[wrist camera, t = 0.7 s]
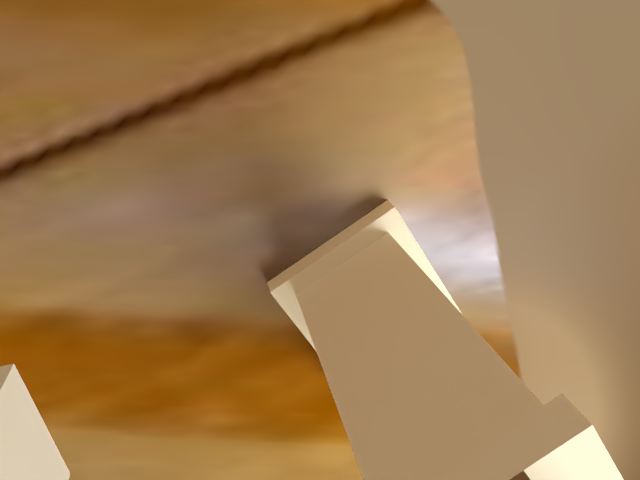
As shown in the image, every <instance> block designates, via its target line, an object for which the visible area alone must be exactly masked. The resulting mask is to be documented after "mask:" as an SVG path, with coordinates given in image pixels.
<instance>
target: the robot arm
mask: <svg viewBox="0 0 640 480" xmlns="http://www.w3.org/2000/svg"><path fill="white" fill-rule="evenodd" d="M69 477H70V472H69V470H68V468H67V466H66V464H65V462H64V460H63V458H62V457H61V455H60V453H59V451H58V449H57V447H56V445H55V443H54V441H53V439H52V437H51V435H50V433H49V431H48V429H47V427H46V425H45V423H44V421H43V419H42V417H41V416H40V414H39V412H38V410H37V408H36V406H35V404H34V402H33V400H32V398H31V396H30V394H29V392H28V390H27V388H26V386H25V384H24V382H23V380H22V378H21V376H20V375H19V373H18V371H17V369H16V367H15V365H14V364H10V365H6V366H1V367H0V480H69Z"/></svg>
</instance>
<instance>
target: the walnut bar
mask: <svg viewBox="0 0 640 480" xmlns="http://www.w3.org/2000/svg"><path fill="white" fill-rule="evenodd" d="M510 480H530V478H529V477H528V476H527V474H526V473H525V472H524V470H523V471H522V472H520V473H519V474H517V475H516V476H514V477H513V478H511V479H510Z"/></svg>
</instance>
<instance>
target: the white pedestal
mask: <svg viewBox="0 0 640 480" xmlns="http://www.w3.org/2000/svg"><path fill="white" fill-rule="evenodd" d="M267 283H268V287H269V291H270V293H271V294H272V296H273V297H274V298H275V299H276V301H277V302H278V303H279V304H280V306H281V307H282V308H283V310H284V311H285V312H286V313H287V315H288V316H289V317H290V318H291V320H292V321H293V322H294V324H295V325H296V326H297V327H298V329H299V330H300V331H301V333H302V334H303V335H304V336H305V338H306V339H307V340H308V341H309V343H310V344H311V345H312V347H313V348H314V349H315V350H316V352H317V354H318V357H319V360H320V362H321V365H322V368H323V371H324V373H325V376H326V379H327V382H328V384H329V387H330V390H331V392H332V395H333V398H334V401H335V403H336V406H337V409H338V411H339V414H340V417H341V420H342V422H343V425H344V428H345V430H346V433H347V436H348V439H349V441H350V444H351V447H352V450H353V452H354V455H355V458H356V460H357V463H358V466H359V469H360V471H361V474H362V477H363V479H364V480H510V479H511V478H513V477H514V476H516V475H517V474H519V473H520V472H522V471H523V470H524V472H525V473H526V474H527V476H528V477H529V478H530V480H623V478H622V476H621V474H620V473H619V471H618V469H617V467H616V466H615V464H614V462H613V460H612V459H611V457H610V455H609V453H608V451H607V450H606V448H605V446H604V445H603V443H602V441H601V439H600V438H599V436H598V434H597V432H596V430H595V429H594V427H593V425H592V424H591V423H590V422H589V421H588V420H587V419H586V418H585V417H584V416H583V415H582V414H581V413H580V412H579V411H578V410H577V409H576V408H575V407H574V405H572V404H571V402H570V401H569V400H568V399H567V398H566V397H565V396H564V395H563V394H561V395H559V396H558V397H556V398H555V399H553V400H552V401H550V402H549V403H547V404H545V405H543V404H542V403H541V402H540V401H539V400H538V399H537V397H536V396H535V395H534V394H533V393H532V392H531V391H530V390H529V389H528V387H527V386H526V385H525V384H524V383H523V382H522V381H521V380H520V378H519V377H518V376H517V375H516V374H515V373H514V372H513V371H512V370H511V368H510V367H509V366H508V365H507V364H506V363H505V362H504V361H503V360H502V358H501V357H500V356H499V355H498V354H497V353H496V352H495V351H494V349H493V348H492V347H491V346H490V345H489V344H488V343H487V342H486V341H485V339H484V338H483V337H482V336H481V335H480V334H479V333H478V332H477V331H476V329H475V328H474V327H473V326H472V325H471V324H470V323H469V322H468V320H467V319H466V318H465V317H464V316H463V315H462V313H461V312H460V310H459V309H458V307H457V305H456V304H455V302H454V301H453V299H452V297H451V296H450V294H449V293H448V291H447V289H446V288H445V286H444V285H443V283H442V281H441V280H440V278H439V277H438V275H437V274H436V272H435V270H434V269H433V267H432V266H431V264H430V262H429V261H428V259H427V258H426V256H425V254H424V253H423V251H422V250H421V248H420V246H419V245H418V243H417V242H416V240H415V238H414V237H413V235H412V234H411V232H410V231H409V229H408V227H407V226H406V224H405V223H404V221H403V219H402V218H401V216H400V215H399V213H398V211H397V210H396V208H395V207H394V206H393V205H392V204H391V203H390V202H389V201H388V200H387V201H385V202H384V203H382V204H381V205H379V206H378V207H376V208H375V209H373V210H372V211H371V212H369V213H368V214H366V215H365V216H363V217H362V218H360V219H359V220H357V221H356V222H354V223H353V224H352V225H350V226H349V227H347V228H346V229H344V230H343V231H341V232H340V233H338V234H337V235H336V236H334V237H333V238H331V239H330V240H328V241H327V242H325V243H324V244H322V245H321V246H319V247H318V248H317V249H315V250H314V251H312V252H311V253H309V254H308V255H306V256H305V257H303V258H302V259H300V260H299V261H298V262H296V263H295V264H293V265H292V266H290V267H289V268H287V269H286V270H284V271H283V272H281V273H280V274H279V275H277V276H276V277H274V278H273V279H271V280H270V281H268V282H267Z"/></svg>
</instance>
